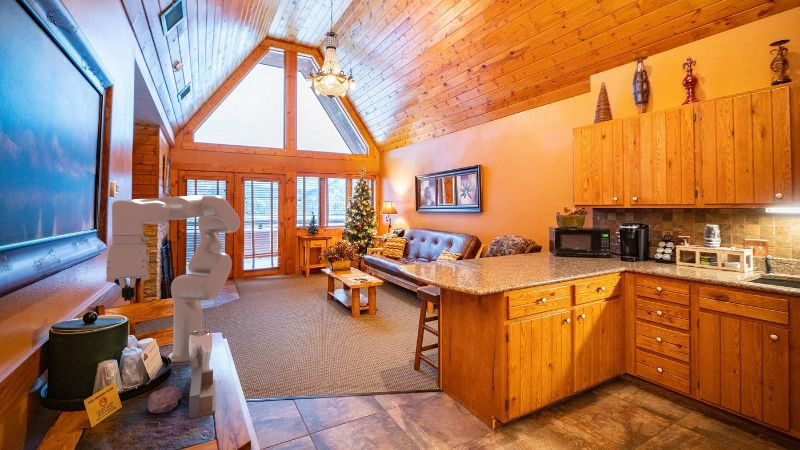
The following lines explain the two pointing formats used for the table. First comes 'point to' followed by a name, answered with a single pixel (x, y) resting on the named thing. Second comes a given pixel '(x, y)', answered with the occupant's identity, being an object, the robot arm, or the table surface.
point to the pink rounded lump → (164, 400)
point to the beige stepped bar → (202, 393)
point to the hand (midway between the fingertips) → (128, 299)
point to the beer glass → (200, 349)
